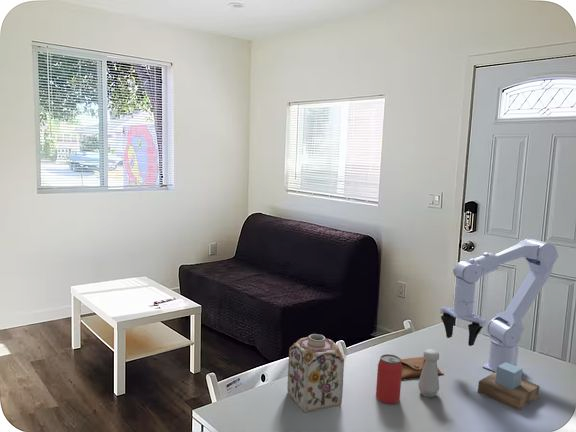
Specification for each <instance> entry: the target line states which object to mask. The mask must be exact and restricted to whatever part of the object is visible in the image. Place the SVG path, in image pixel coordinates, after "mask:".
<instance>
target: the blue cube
mask: <svg viewBox="0 0 576 432" xmlns="http://www.w3.org/2000/svg"><path fill="white" fill-rule="evenodd" d="M517 366H518V365H517ZM517 366H514V365H512V364H509V363H507V362H505V363H503V364H501V365H499V366H497V372H496V381H495V383H497V384H500V385H502V386H504V387H507V388H509V389H511V390H513V389H514V388H516V387H518V386H520V385H521V379H522V378H523V377H522V376H523V368H522V367H520V366H518V367H517Z"/></svg>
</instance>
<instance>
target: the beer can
mask: <svg viewBox="0 0 576 432" xmlns="http://www.w3.org/2000/svg"><path fill="white" fill-rule="evenodd" d="M376 376H377V377H376V386H375V387H376V388H375V397H376V398H377V400H378V401H379V402H381V403H383V404H388V405H393V404H396V403H399V401H400V399H401V388H402V387H401V385H402V380H401V376H402V364H401V357H399V356H397V355H395V354H388V353H387V354H382V355H381V356H380V357H379V361H378V363H377V373H376Z"/></svg>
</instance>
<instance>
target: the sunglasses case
mask: <svg viewBox="0 0 576 432" xmlns="http://www.w3.org/2000/svg"><path fill="white" fill-rule="evenodd" d="M400 359H401V358H400ZM424 363H425V358H424V356H421V357H409V358H402V359H401V364H402V376H401V381H405V379H406V380H411V379H417V377H418V378H420V376H421V373H422V370H423V366H424ZM437 370H438V376H443V375H444V373H442V372H441V370H440V369H439V367H438V366H437ZM410 378H411V379H410Z"/></svg>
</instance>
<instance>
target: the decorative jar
mask: <svg viewBox="0 0 576 432" xmlns="http://www.w3.org/2000/svg"><path fill="white" fill-rule="evenodd" d="M287 365H288V367H287V386H286V387H287V393H288V394H289V395H290V397H291V399H292V400H293V401H294V402H295V403H296V404H297V405H298V406H299V408H300V409H301V410H302V411H303V412H304V413H307V412H311V411H316V410H323V409H328V408H333V407H338V406H342V403H343V393H344V391H343V390H344V376H345V375H344V373H345V372H344V371H345V358H344V356H343V354H342V351H341V350H340V347H339V345H338V344H337V343H335V342H334V340H332V339H329V338H326V337H325V336H324V335H323V334H317V333H312V334H310V335H308V336H306V337H302V338H300V339H298V340H297V341H296V342H294V343H293V344H292V345H291V346H290V347H289V349H288V364H287Z"/></svg>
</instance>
